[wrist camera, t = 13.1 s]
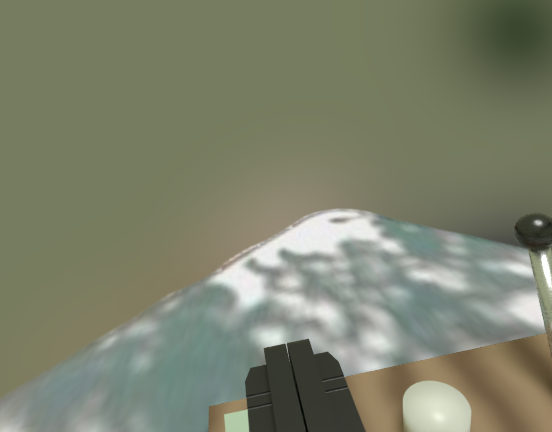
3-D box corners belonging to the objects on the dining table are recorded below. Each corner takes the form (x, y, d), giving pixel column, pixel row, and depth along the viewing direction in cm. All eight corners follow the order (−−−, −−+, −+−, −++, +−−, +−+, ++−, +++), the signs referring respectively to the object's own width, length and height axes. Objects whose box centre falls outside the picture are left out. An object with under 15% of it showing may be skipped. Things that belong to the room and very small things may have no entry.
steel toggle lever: (574, 386, 35) (536, 210, 36) (605, 401, 32) (563, 208, 33) (540, 394, 35) (502, 217, 36) (568, 410, 32) (526, 215, 32)
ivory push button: (448, 402, 35) (449, 375, 34) (483, 455, 31) (485, 426, 29) (393, 414, 35) (392, 387, 34) (420, 470, 30) (420, 441, 29)
